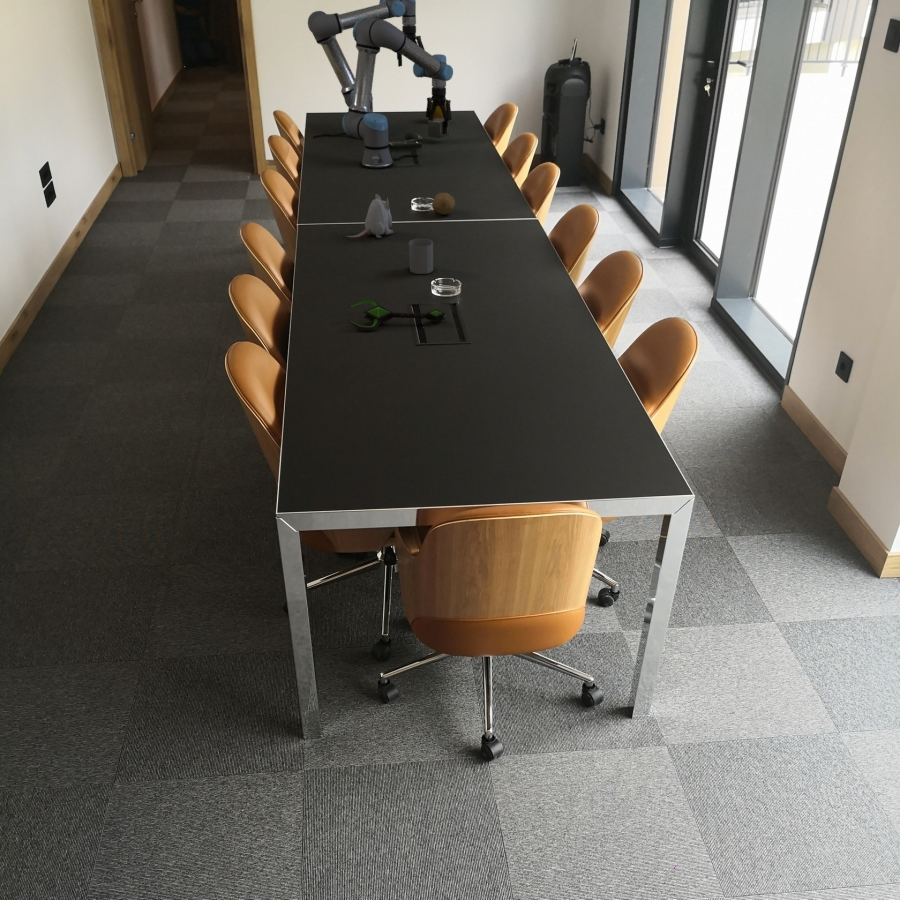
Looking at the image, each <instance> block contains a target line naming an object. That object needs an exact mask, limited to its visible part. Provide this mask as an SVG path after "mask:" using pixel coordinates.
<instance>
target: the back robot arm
mask: <svg viewBox="0 0 900 900" xmlns="http://www.w3.org/2000/svg"><path fill="white" fill-rule="evenodd" d="M416 1H417V0H379V2H378V4H376V5H371V6H368V7H363V8H360V9H356V10H350V11H347V12H344V13H338V12H335V13H326V12H324V11H322V10H315V11H313V12H311V13H310V15H308V18H307V27H308V30H309V31H310V33H312V36H313V37H314V40H315V41H316V44H318V45H320V46H321V47H322V49H323V52H324V54H325V56H326V57H327V59H328V61H329V64H330V66H331V67H332V70H333V72H334V74H335V77H336V78H337V80H338V82H339V84H340V86H341V90H340V93H341V95H342V96H343V100H344V102H345V104H346V107H348V108H349V107H350V106H351V105H352V102H353V93H354V85H355V75H354V73H353V71H352V69H351V67H350V65H349V62H348V61H347V59H346V56H345V55H344V52H343V50H342V48H341V46H340V44H339V42H338V40H337V37H336V36H337V35H340V34H342V33H343V31H346V30H347V31H348V30H351V29H353V27H354V25H355V23H356V22H357V21H358V20H359V19H361V18H373V19H379V20H385V21H386V20H389V19H393V18H401V25H402V26H401V29H402V30H401V31H402V32H404V33H405V34H406V37H407V38H408V39H410V40H411V41H412V42H414V43H415V44H417V45H418V46H419V47H421V48H422V49H424V50H425V49H426V48H425V46H424V44H423V41H422V36H421V35H417V34H416V33H417V14H416V13H417V11H416V10H417V2H416ZM425 51H426V50H425ZM396 61H397V67H398V68H400V67H403V55H402V54H400V53H399V52H397V53H396ZM373 100H374V98H373V92H371V100H370V109H371V111H372V113H374V103H373ZM343 135H347V134H346V132H345V131H344V132H340V133H335V134H334V133H332V134H331V133H322V134H316V135H313V138H314V139H315V138H319V137H338V136H343ZM349 137H350V138H353V137H351V136H349ZM353 139H354V138H353ZM356 139H357V140H358V138H356Z"/></svg>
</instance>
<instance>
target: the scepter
mask: <svg viewBox="0 0 900 900" xmlns="http://www.w3.org/2000/svg"><path fill="white" fill-rule="evenodd" d="M362 304H371V305H373V306H372V307H371V308H367V309H366V310H364V311H363V313H364V314H365V315H364V316H363V318H364V319H366V320H368V321H369V322H372V323H373V324H372V325H369V326H367V325H360V324H358V323H356V322H353V321H350V320H349V321H348V324H350V325H351V326H353V327H354V328H356V329H359V330H361V331H375V330H377V329H378V327H379V326H380V325H382V324H383V323H385V322H388V321H389V320H390V321H391V319H394V318H396V319H397V318H398V319H399V318H400V319H426V320H428V321H431V322H433V323H434V324H436V323H439V322H441V321H444V320H445V319H446V318H445V317H444V315H446V313H445V312H443V311H441V310H438V309H434V310H433V309H432V310H431V311H429V312H426V313H425V312H420V313H419V312H393V311H392V310H390V309H388V308H385V307H384V306H382V305H380V304H379V302H378V301H377V300H376V299H369V298H368V299H360V300H358V301H355V303H352V304H351V305H349V306H348V307H349V308H353V307H356V306H359V305H362Z"/></svg>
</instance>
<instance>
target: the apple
mask: <svg viewBox="0 0 900 900" xmlns="http://www.w3.org/2000/svg"><path fill="white" fill-rule="evenodd" d="M432 104H433V101H432ZM431 108H432V105H431ZM445 108H446V104H445ZM436 118H440V119H444V117H443V114H442V111H441V108H440V106H437V107H436V110H435V113H434V115H433V118H432V119H436Z"/></svg>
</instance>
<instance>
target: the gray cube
mask: <svg viewBox="0 0 900 900" xmlns="http://www.w3.org/2000/svg"><path fill="white" fill-rule="evenodd" d="M443 121H444V119H440V118H436V119H432V120H429V119H428V120H427V137H429V138H435V139H442V138H445V137H446V138H447V137H449V136H450V133H449V132H450V130H449V129H450V120H449V121H448V127H447V134H443Z"/></svg>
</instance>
